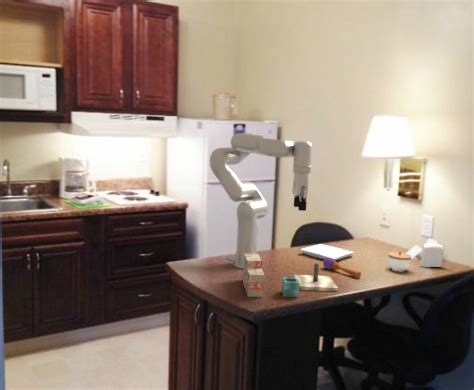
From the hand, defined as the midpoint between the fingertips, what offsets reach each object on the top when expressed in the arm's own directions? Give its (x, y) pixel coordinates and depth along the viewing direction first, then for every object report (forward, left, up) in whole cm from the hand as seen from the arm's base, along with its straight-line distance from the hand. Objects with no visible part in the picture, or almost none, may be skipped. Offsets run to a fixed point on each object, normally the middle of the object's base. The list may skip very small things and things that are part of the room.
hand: (299, 208), depth 219 cm
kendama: (+24, +11, -32) cm, 42 cm away
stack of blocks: (-20, -16, -32) cm, 41 cm away
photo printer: (+75, +28, -32) cm, 86 cm away
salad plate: (+24, +41, -32) cm, 58 cm away
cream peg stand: (+8, -8, -32) cm, 34 cm away
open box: (-5, -22, -32) cm, 39 cm away
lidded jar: (+55, +20, -32) cm, 67 cm away
